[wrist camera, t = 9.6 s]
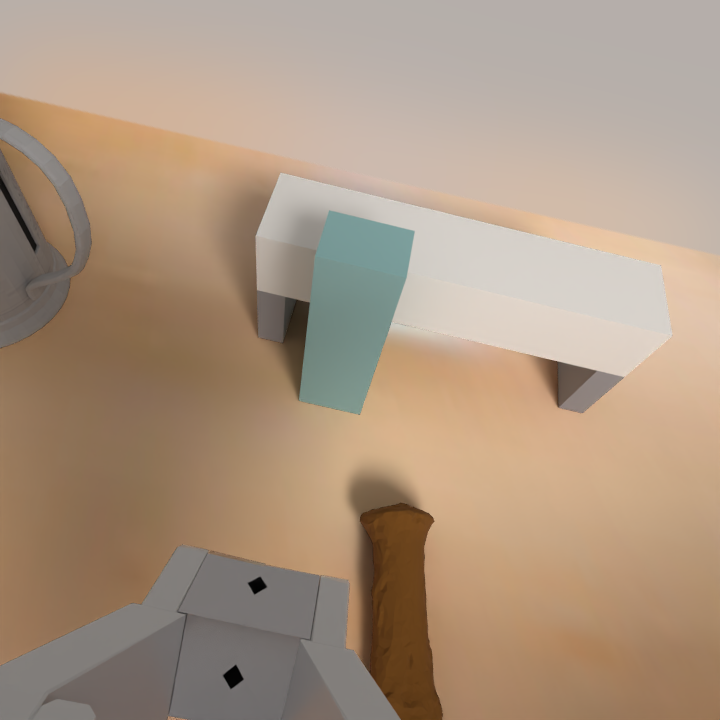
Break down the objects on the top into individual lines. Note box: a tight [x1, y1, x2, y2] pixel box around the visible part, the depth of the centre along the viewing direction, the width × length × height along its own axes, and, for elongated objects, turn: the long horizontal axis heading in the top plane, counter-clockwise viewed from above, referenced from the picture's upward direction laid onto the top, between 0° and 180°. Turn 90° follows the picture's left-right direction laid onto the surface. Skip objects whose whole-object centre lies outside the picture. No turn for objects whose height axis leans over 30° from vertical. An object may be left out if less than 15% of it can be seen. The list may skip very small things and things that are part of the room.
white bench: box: [256, 173, 672, 413], centre depth 30 cm, size 20×4×8 cm, turn 79°
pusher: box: [299, 210, 415, 415], centre depth 28 cm, size 4×12×12 cm, turn 169°
